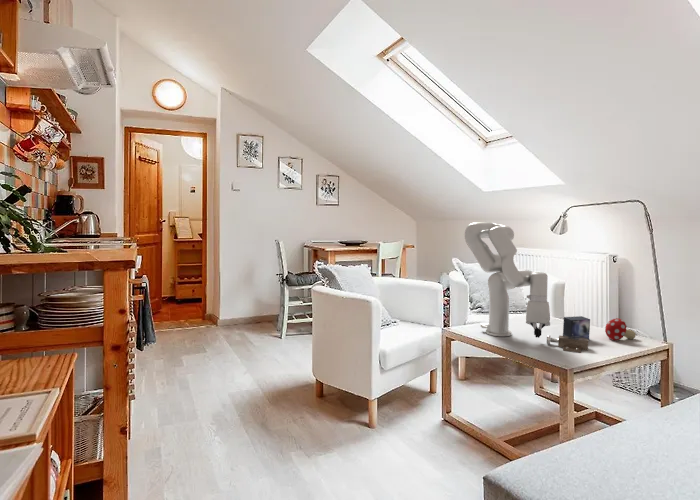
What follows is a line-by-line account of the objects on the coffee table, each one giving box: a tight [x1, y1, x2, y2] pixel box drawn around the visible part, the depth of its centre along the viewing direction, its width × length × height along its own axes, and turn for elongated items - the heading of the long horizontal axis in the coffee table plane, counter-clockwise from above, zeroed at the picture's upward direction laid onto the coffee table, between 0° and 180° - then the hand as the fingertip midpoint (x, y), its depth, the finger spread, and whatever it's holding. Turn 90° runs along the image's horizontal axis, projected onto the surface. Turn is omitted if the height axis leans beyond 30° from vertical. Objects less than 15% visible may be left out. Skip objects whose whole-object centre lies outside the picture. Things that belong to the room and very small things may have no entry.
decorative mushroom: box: [604, 317, 637, 341], centre depth 221 cm, size 11×11×15 cm
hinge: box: [557, 335, 589, 354], centre depth 207 cm, size 12×15×4 cm
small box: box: [562, 315, 591, 341], centre depth 222 cm, size 11×6×10 cm, turn 101°
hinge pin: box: [546, 334, 559, 345], centre depth 209 cm, size 14×4×4 cm, turn 60°
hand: (537, 336), depth 215 cm, fingers closed
